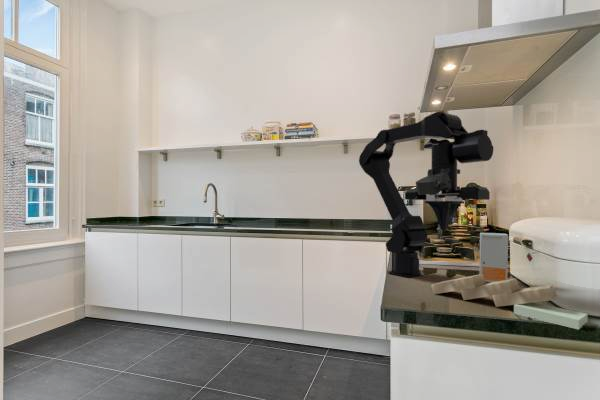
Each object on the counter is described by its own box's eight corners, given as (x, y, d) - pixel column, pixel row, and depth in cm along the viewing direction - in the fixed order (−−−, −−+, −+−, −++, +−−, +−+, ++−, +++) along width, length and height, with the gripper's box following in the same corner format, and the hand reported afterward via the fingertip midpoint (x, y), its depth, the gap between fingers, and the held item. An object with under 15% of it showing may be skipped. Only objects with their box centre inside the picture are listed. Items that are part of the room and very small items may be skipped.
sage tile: (524, 311, 61) (587, 326, 54) (513, 316, 58) (578, 332, 51) (524, 300, 61) (587, 314, 54) (513, 305, 58) (578, 320, 51)
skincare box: (479, 281, 82) (479, 233, 82) (479, 278, 86) (479, 232, 86) (508, 284, 79) (508, 234, 79) (506, 281, 83) (507, 233, 83)
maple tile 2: (460, 290, 66) (507, 281, 60) (469, 286, 70) (515, 278, 63) (463, 300, 66) (512, 292, 60) (473, 296, 69) (520, 288, 63)
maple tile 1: (430, 284, 71) (471, 277, 64) (442, 281, 74) (482, 273, 67) (434, 294, 70) (475, 287, 64) (445, 290, 73) (486, 283, 67)
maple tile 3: (492, 295, 62) (548, 287, 56) (498, 292, 65) (552, 284, 60) (495, 306, 61) (553, 299, 55) (502, 302, 65) (556, 295, 59)
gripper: (391, 166, 82) (390, 228, 82) (464, 158, 67) (464, 235, 67) (418, 169, 89) (417, 227, 89) (490, 162, 74) (490, 232, 73)
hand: (443, 230), depth 79 cm, fingers closed
